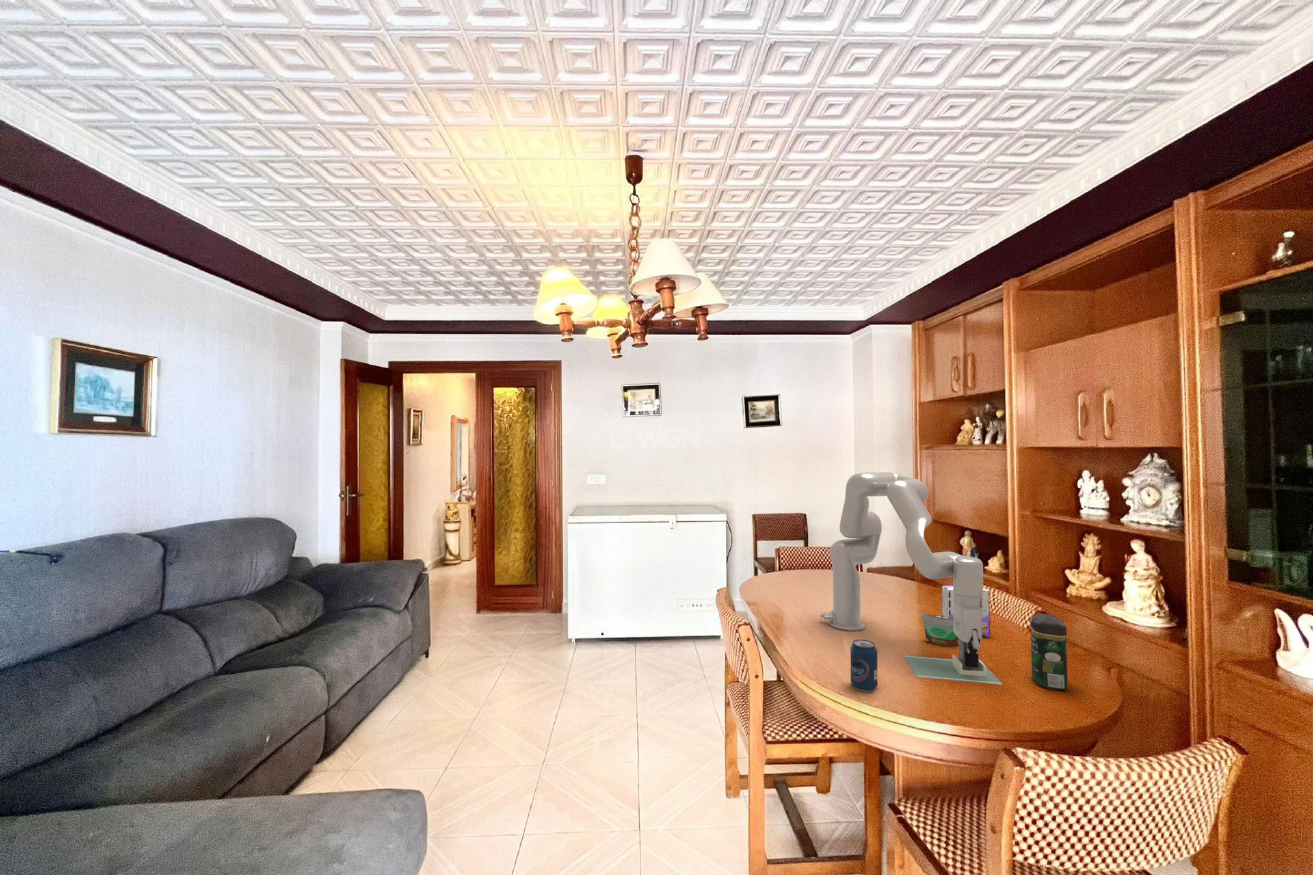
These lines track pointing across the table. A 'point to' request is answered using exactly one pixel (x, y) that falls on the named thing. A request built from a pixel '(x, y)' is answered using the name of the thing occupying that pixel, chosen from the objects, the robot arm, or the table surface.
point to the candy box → (949, 606)
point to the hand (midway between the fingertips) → (968, 662)
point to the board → (945, 670)
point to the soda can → (864, 665)
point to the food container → (939, 630)
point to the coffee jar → (1049, 651)
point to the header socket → (980, 672)
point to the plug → (962, 654)
